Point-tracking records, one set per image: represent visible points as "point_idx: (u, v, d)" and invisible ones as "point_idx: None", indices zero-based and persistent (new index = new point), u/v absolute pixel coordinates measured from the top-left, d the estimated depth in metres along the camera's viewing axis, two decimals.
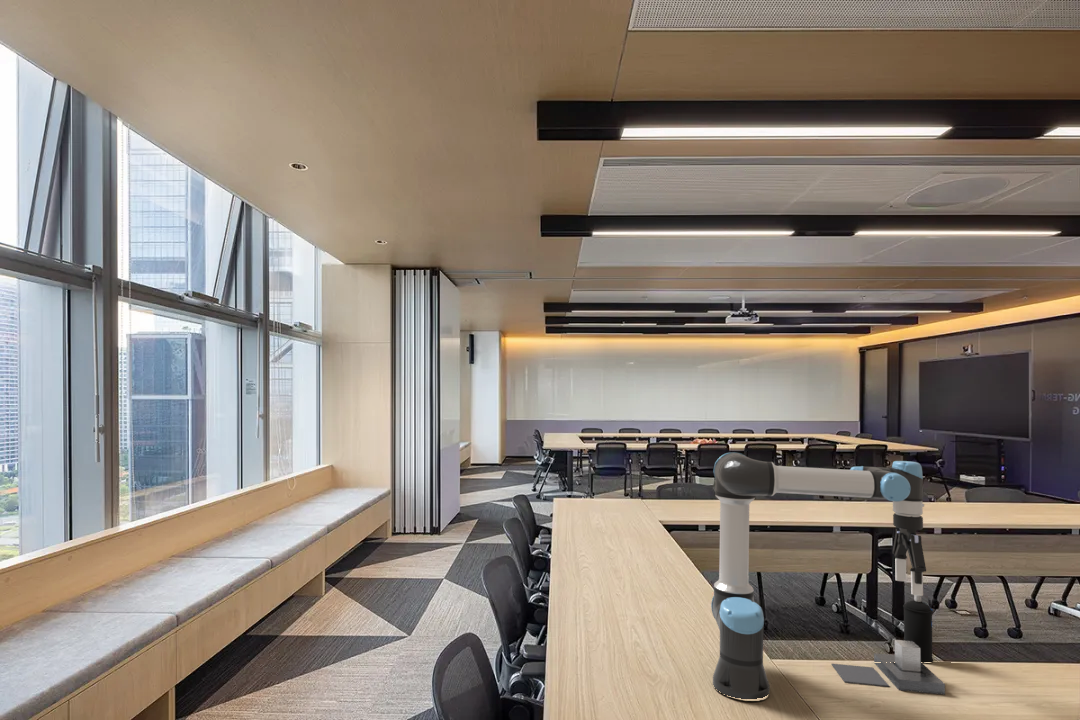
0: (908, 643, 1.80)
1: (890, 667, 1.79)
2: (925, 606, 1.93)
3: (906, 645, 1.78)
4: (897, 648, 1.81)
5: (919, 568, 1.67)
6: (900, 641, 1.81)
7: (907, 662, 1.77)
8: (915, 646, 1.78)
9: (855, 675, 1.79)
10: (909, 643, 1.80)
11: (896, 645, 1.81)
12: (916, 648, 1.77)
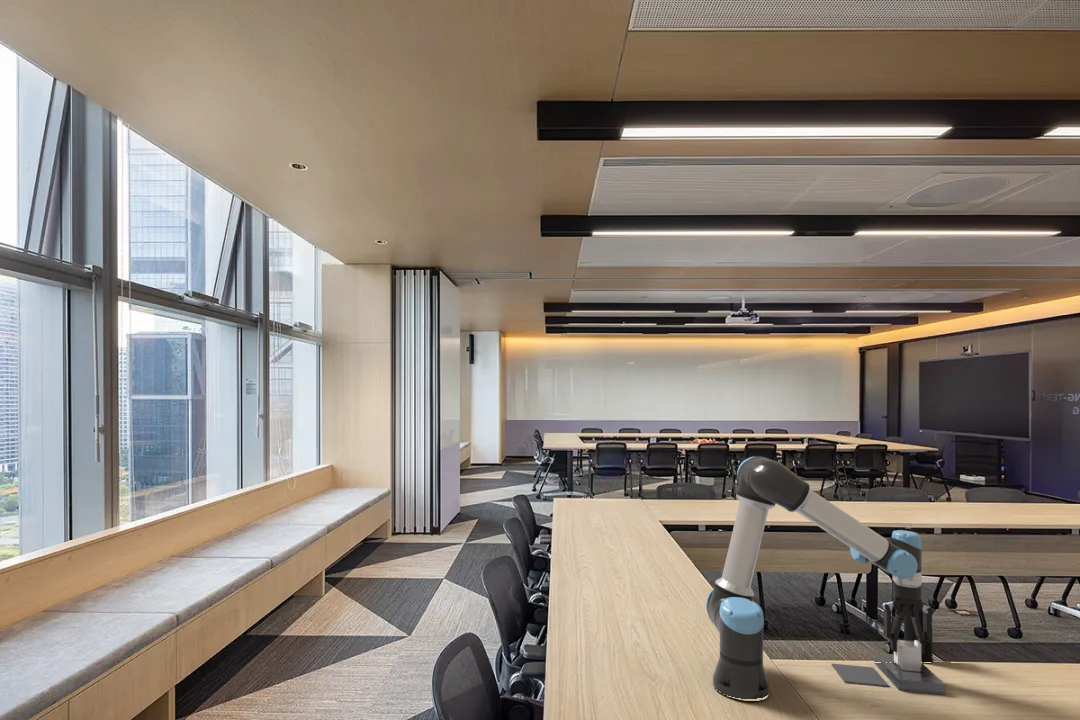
0: (908, 643, 1.80)
1: (890, 667, 1.79)
2: None
3: (906, 645, 1.78)
4: None
5: (884, 634, 1.81)
6: (900, 641, 1.81)
7: (907, 662, 1.77)
8: (915, 646, 1.78)
9: (855, 675, 1.79)
10: (909, 643, 1.80)
11: None
12: (916, 648, 1.77)
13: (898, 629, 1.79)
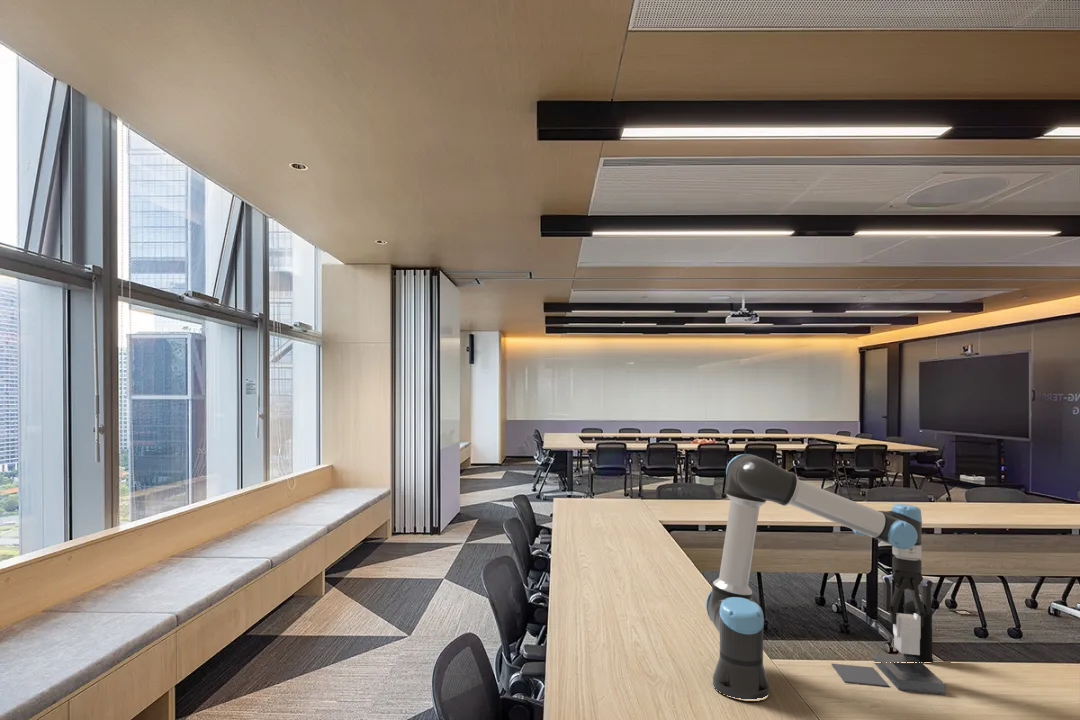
0: (907, 616, 1.81)
1: (890, 667, 1.79)
2: None
3: (905, 618, 1.79)
4: None
5: (884, 607, 1.82)
6: (899, 614, 1.82)
7: (906, 634, 1.78)
8: (914, 619, 1.78)
9: (855, 675, 1.79)
10: (908, 616, 1.80)
11: None
12: (916, 620, 1.78)
13: (897, 602, 1.80)
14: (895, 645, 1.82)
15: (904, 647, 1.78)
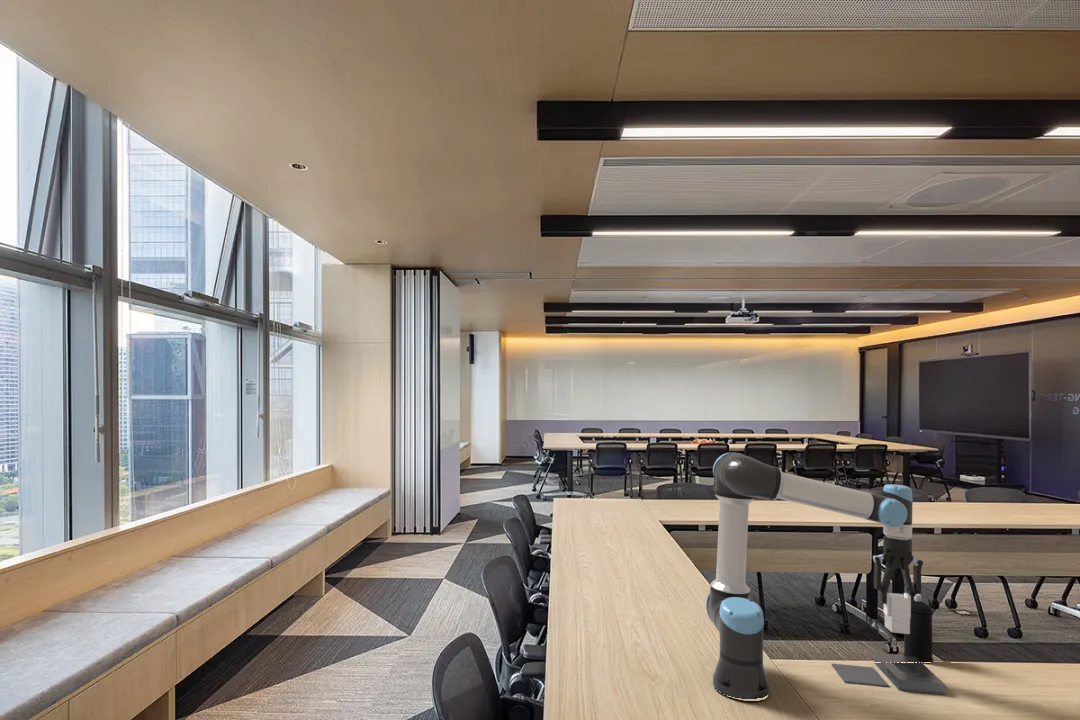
0: (898, 595, 1.81)
1: (890, 667, 1.79)
2: (925, 606, 1.93)
3: (895, 597, 1.79)
4: None
5: (874, 586, 1.82)
6: (890, 594, 1.82)
7: (897, 613, 1.78)
8: (905, 598, 1.79)
9: (855, 675, 1.79)
10: (899, 596, 1.81)
11: None
12: (906, 599, 1.78)
13: (888, 581, 1.80)
14: (885, 625, 1.82)
15: (894, 626, 1.78)
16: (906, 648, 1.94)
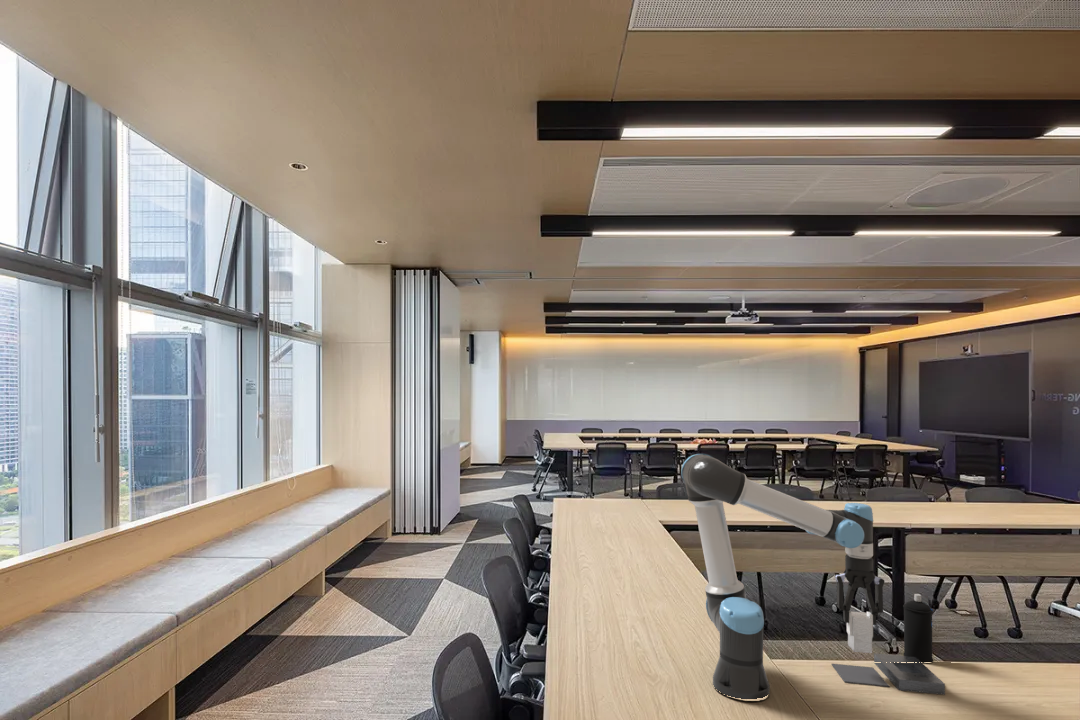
0: (860, 614, 1.81)
1: (890, 667, 1.79)
2: (925, 606, 1.93)
3: (857, 616, 1.79)
4: None
5: (837, 605, 1.82)
6: (853, 612, 1.83)
7: (859, 633, 1.78)
8: (867, 617, 1.79)
9: (855, 675, 1.79)
10: (861, 614, 1.81)
11: None
12: (868, 618, 1.78)
13: (850, 600, 1.81)
14: (849, 644, 1.82)
15: (856, 645, 1.78)
16: (906, 648, 1.94)
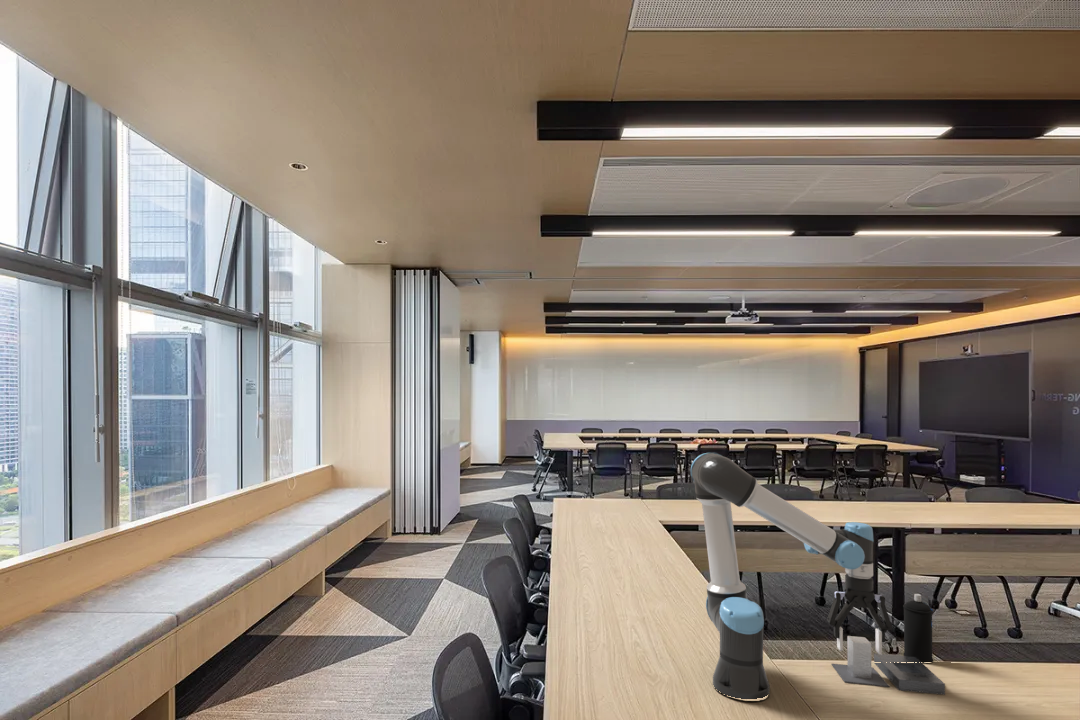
0: (860, 639, 1.81)
1: (890, 667, 1.79)
2: (925, 606, 1.93)
3: (857, 641, 1.79)
4: (849, 644, 1.81)
5: (828, 620, 1.83)
6: (852, 637, 1.82)
7: (858, 658, 1.78)
8: (866, 642, 1.79)
9: None
10: (861, 639, 1.81)
11: (848, 641, 1.82)
12: (867, 644, 1.78)
13: (843, 617, 1.81)
14: (848, 668, 1.82)
15: (856, 671, 1.78)
16: (906, 648, 1.94)
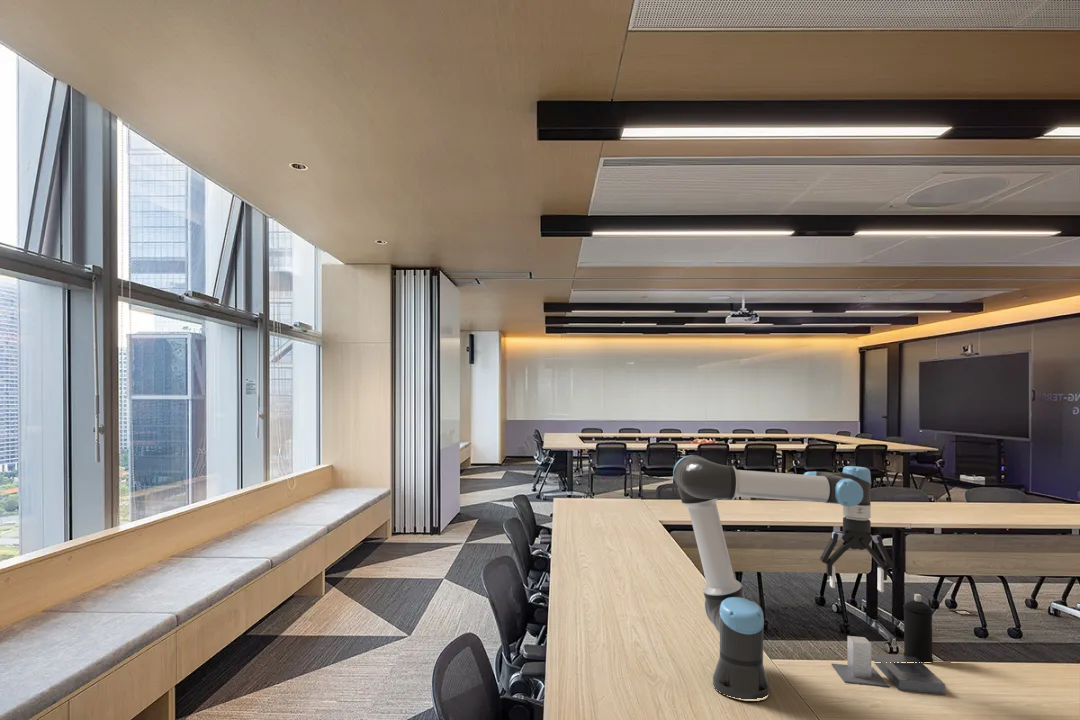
0: (860, 639, 1.81)
1: (890, 667, 1.79)
2: (925, 606, 1.93)
3: (857, 641, 1.79)
4: (849, 644, 1.81)
5: (821, 558, 1.85)
6: (852, 637, 1.82)
7: (858, 658, 1.78)
8: (866, 642, 1.79)
9: None
10: (861, 639, 1.81)
11: (848, 641, 1.82)
12: (867, 644, 1.78)
13: (837, 556, 1.83)
14: (848, 668, 1.82)
15: (856, 671, 1.78)
16: (906, 648, 1.94)
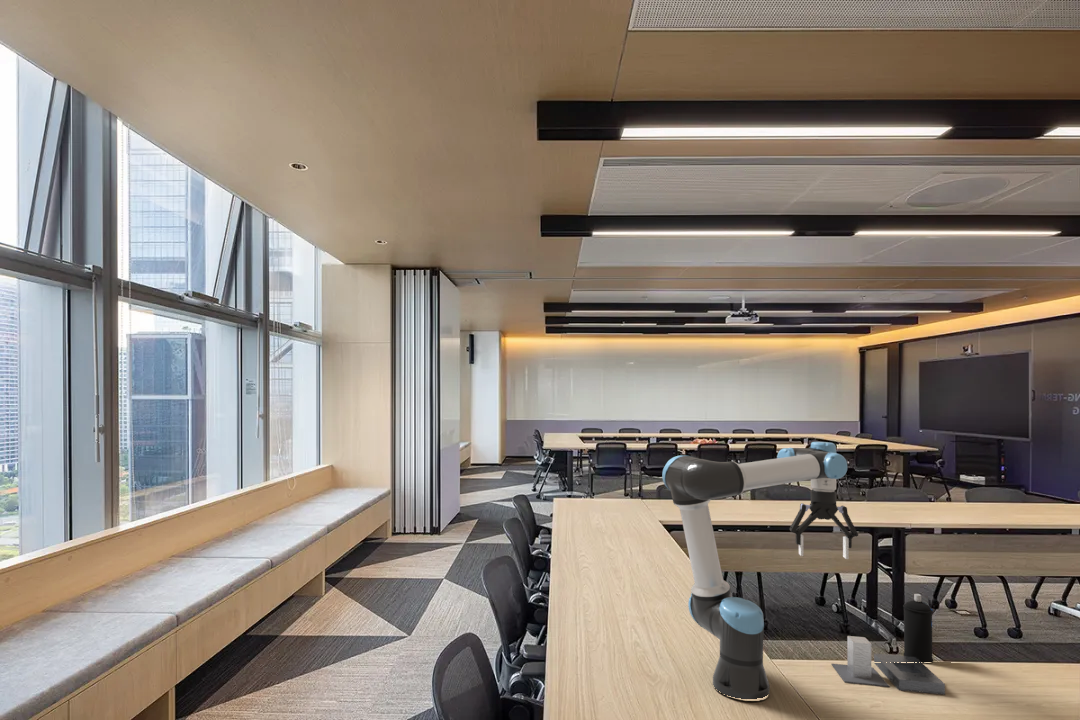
0: (860, 639, 1.81)
1: (890, 667, 1.79)
2: (925, 606, 1.93)
3: (857, 641, 1.79)
4: (849, 644, 1.81)
5: (790, 528, 1.96)
6: (852, 637, 1.82)
7: (858, 658, 1.78)
8: (866, 642, 1.79)
9: None
10: (861, 639, 1.81)
11: (848, 641, 1.82)
12: (867, 644, 1.78)
13: (805, 526, 1.94)
14: (848, 668, 1.82)
15: (856, 671, 1.78)
16: (906, 648, 1.94)
